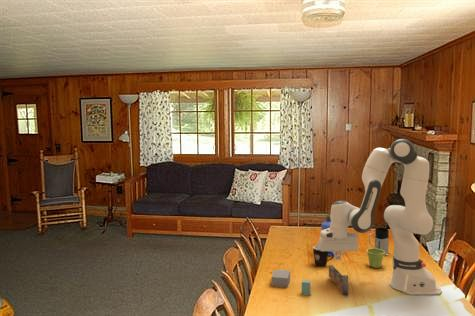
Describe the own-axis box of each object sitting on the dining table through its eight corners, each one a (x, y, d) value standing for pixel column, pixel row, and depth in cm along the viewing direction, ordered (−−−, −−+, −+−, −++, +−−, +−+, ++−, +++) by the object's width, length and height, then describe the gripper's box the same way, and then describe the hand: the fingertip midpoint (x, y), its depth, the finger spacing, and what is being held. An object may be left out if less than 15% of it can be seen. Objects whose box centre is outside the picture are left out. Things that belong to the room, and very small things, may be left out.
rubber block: (290, 280, 197) (290, 270, 196) (287, 288, 187) (287, 278, 187) (274, 278, 199) (274, 269, 198) (271, 286, 189) (271, 277, 189)
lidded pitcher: (392, 254, 231) (392, 230, 230) (373, 257, 226) (374, 233, 225) (382, 250, 240) (382, 226, 238) (363, 253, 234) (364, 229, 233)
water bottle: (335, 251, 238) (336, 212, 235) (338, 257, 229) (338, 216, 226) (320, 251, 239) (320, 212, 236) (322, 256, 229) (322, 215, 227)
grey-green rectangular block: (310, 293, 181) (310, 280, 180) (310, 295, 179) (310, 282, 178) (301, 292, 182) (301, 280, 181) (301, 294, 180) (301, 282, 179)
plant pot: (385, 269, 208) (386, 254, 207) (367, 268, 210) (367, 253, 209) (382, 263, 217) (383, 248, 216) (365, 262, 219) (365, 247, 218)
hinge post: (347, 293, 180) (348, 275, 179) (348, 296, 177) (348, 277, 176) (342, 293, 180) (342, 274, 179) (342, 295, 178) (343, 276, 177)
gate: (346, 291, 180) (346, 279, 180) (342, 291, 180) (342, 279, 180) (332, 276, 198) (332, 265, 198) (328, 276, 198) (328, 265, 197)
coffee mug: (309, 263, 219) (310, 246, 218) (322, 261, 222) (322, 244, 221) (321, 270, 208) (321, 252, 207) (334, 268, 211) (334, 250, 210)
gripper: (355, 230, 198) (354, 256, 199) (317, 231, 196) (316, 257, 197) (360, 234, 192) (359, 260, 193) (321, 234, 190) (320, 261, 191)
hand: (337, 259), depth 195 cm, fingers closed
